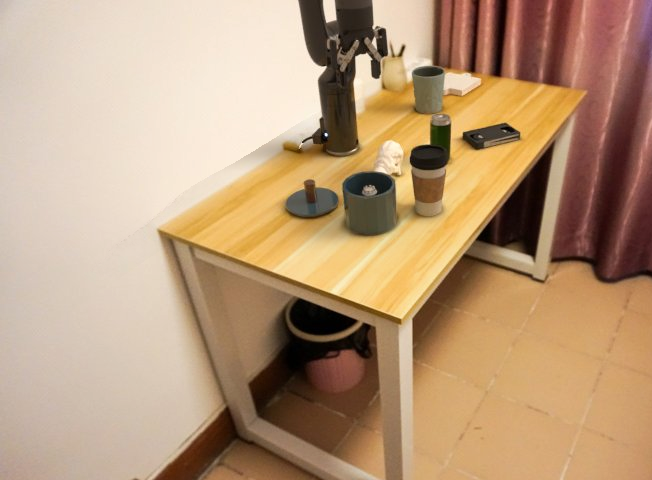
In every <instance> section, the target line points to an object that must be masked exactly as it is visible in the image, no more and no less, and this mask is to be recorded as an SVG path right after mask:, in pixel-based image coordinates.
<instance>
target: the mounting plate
mask: <svg viewBox="0 0 652 480" xmlns="http://www.w3.org/2000/svg"><path fill="white" fill-rule="evenodd" d="M480 85H482V78H480V77H475V76H472V74H471V73H468V72H463V73H455V72H450V71H448V72H446V73H445V79H444V88H443V96H448V95H455V96H458V97H463V96H465V95H466V94H468V93H470V92H472V91H473V90H474V89H476V88H478V87H479V86H480Z"/></svg>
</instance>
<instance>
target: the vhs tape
mask: <svg viewBox="0 0 652 480" xmlns="http://www.w3.org/2000/svg"><path fill="white" fill-rule="evenodd" d="M462 140H463V141H464V142H466V143H467V144H468V145H470V146H471V147H472V148H474V149H475V150H482V149H486V148H491V147H495V146H498V145H502V144H506V143H507V144H508V143H511V142H516V141H519V140H521V132H520V131H519V130H518V129H516V128H515V127H513V126H512V125H510V124H509V123H507V122H501V123H497V124H493V125H489V126H485V127H480V128H476V129H472V130H471V129H470V130H467V131H462Z"/></svg>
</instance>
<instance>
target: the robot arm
mask: <svg viewBox="0 0 652 480" xmlns="http://www.w3.org/2000/svg"><path fill="white" fill-rule="evenodd" d="M297 2H298V9H299V13H300V19H301V27H302V32H303V33H302V34H303V38H304V39H303V40H304V42H305V43H304V44H305V47H306V51H307V54H308V55H309V58H310V60H311V61H312V62H313V63H314V64H315V65H316V66H318V67H322V68H324V67H325V69H324V70H323V72H322V73H320V75H319V76H318V78H317V88H318V96H319V103H320V110H321V111H320V112H321V113H320V114H321V117H320V118H319V119H318V120H319V128H317V129H316V130H315V131H314V132H313V133H312V134H311V135H310V136H308V137H305V138H304V139H303V140H302V141H301V142H302V143H306V142H308V141H310V140H312V145H317V146H322V152H323V153H324V152H325V153H327V154H329V155H331V156H335V157H346V156H350V155H353V154H355V153H357V152H358V151H359V149H360V139H359V130H358V129H359V128H358V120H357V119H358V118H357V107H356V95H355V84H354V83H355V79H356V74H357V66H356V65H357V63H356V62H357V61H356V57H358V56H360V55H366V54H367V55H368V56H369V57H370V59H371V60H370V74H371V78H373V79H374V80H379V79H380V77H381V75H382V65H381V64H382V62H381V61H382V60H383V58H384V57H385V58H386V57H388V56H389V48H388V35H387V29H386V28H385V27H383V26H379V25H376V26H375V27H374V25H375V24H374V23H375V22H374V21H375V20H374V3H373V0H334V7H335V18H336V19H334V20H331V21H328V22H327V19H326V14H325V8H324V0H297ZM374 39H375V43H376V46H374V44H373V41H374ZM297 150H298V151H301V150H302V147H301V148H300V149H298V148H297Z"/></svg>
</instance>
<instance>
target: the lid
mask: <svg viewBox="0 0 652 480" xmlns="http://www.w3.org/2000/svg"><path fill="white" fill-rule="evenodd" d="M338 204H339V195H338V194H337V192H335V191H334V190H331V189H329V188H327V187H326V188H325V187H318V186H316V181H315V180H314V179H312V178H311V179H306V180H304V182H303V188H302V189H299V190H296V191H295V192H293V193H292V194H290V195H289V196H288V197H287V198H286V201H285V208H286V210H287V211H288V212H289V213H290V214H292V215H294V216H298V217H303V218H304V217H305V218H312V217H318V216H319V217H320V216H323V215H325V214H328V213H330V212H331V211H333V210H334V209H336V208H337V206H338Z"/></svg>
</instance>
